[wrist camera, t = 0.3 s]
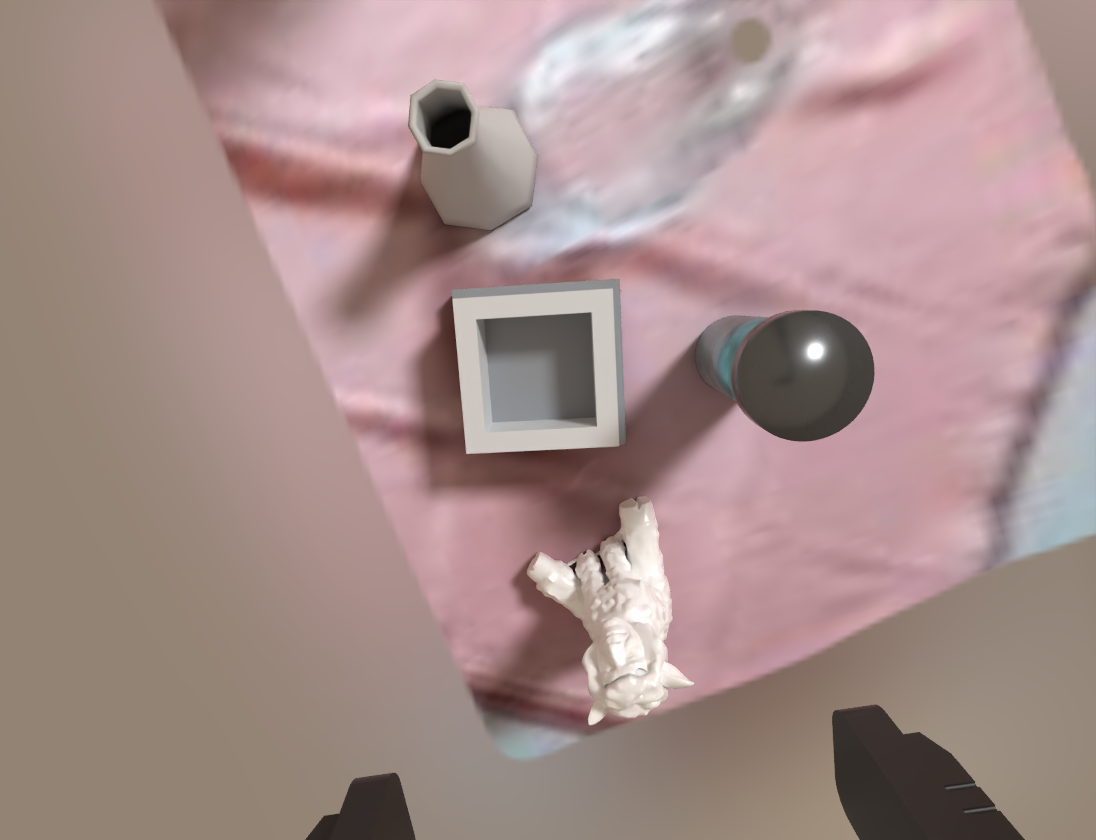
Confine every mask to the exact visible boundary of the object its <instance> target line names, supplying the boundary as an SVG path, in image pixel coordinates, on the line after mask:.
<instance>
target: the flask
mask: <svg viewBox="0 0 1096 840" xmlns="http://www.w3.org/2000/svg"><path fill="white" fill-rule="evenodd" d="M408 127H409V129H410V130H411V132H412V134H413V136H414V138H415V139H416V141H417V143H418V145H419V146H420V148H421V150H422V152H423V153H422V164H421V176H420V182H421V184H422V185H423V187H424V189H425V191H426V192H427V194H428V196H429V198H430V199H431V201H432V203H433V205H434V206H435V208H436V210H437V212H438V214H439V215H440V217H441V219H442V221H443V222H444V224H447V225H454V226H462V227H470V228H477V229H485V230H492V229H494V228H496V227H497V226H499V225H501V224H502V223H504V222H506V221H507V220H509V219H511V218H512V217H514V216H516V215H517V214H519V213H521V212H522V211H524V210H526V209H527V208H529V207H531V206H532V202H533V193H534V185H535V177H536V168H537V160H538V154H537V152H536V151H535V149H534V147H533V145H532V143H531V141H530V139H529V137H528V136H527V134H526V132H525V130H524V128H523V126H522V124H521V122H520V121H519V119H518V117H517V115H516V113H515V111H514V110H508V109H501V108H493V107H485V106H477V105H476V104H475V102H474V100H473V99H472V97H471V95H470V93H469V91H468V89H467V87H466V86H465V84H464V83H458V82H451V81H443V80H434V81H432V82H431V83H429V84H427V85H426V86H424V87H423V88H421V89H420V90H418V91H417V92H415V93H414V94H412V95H411V97H410V110H409V122H408Z"/></svg>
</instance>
